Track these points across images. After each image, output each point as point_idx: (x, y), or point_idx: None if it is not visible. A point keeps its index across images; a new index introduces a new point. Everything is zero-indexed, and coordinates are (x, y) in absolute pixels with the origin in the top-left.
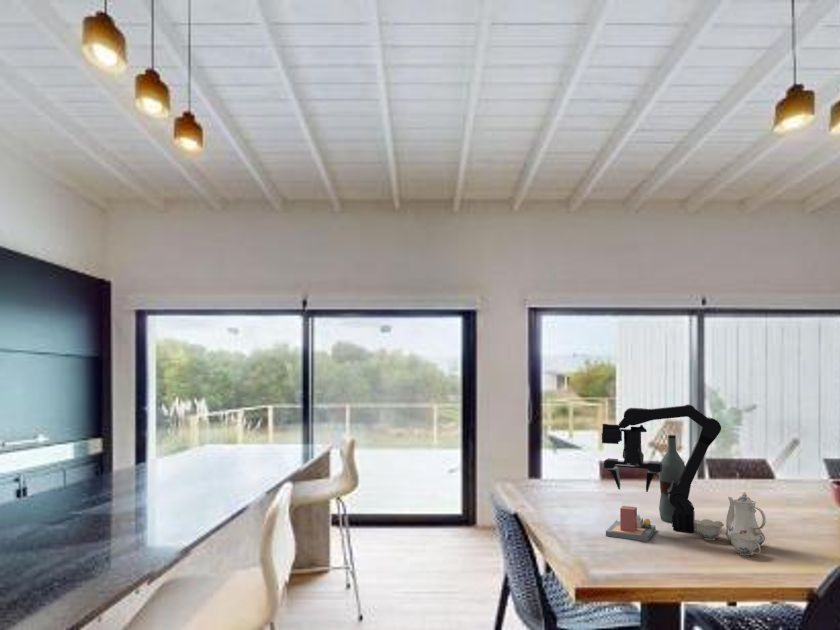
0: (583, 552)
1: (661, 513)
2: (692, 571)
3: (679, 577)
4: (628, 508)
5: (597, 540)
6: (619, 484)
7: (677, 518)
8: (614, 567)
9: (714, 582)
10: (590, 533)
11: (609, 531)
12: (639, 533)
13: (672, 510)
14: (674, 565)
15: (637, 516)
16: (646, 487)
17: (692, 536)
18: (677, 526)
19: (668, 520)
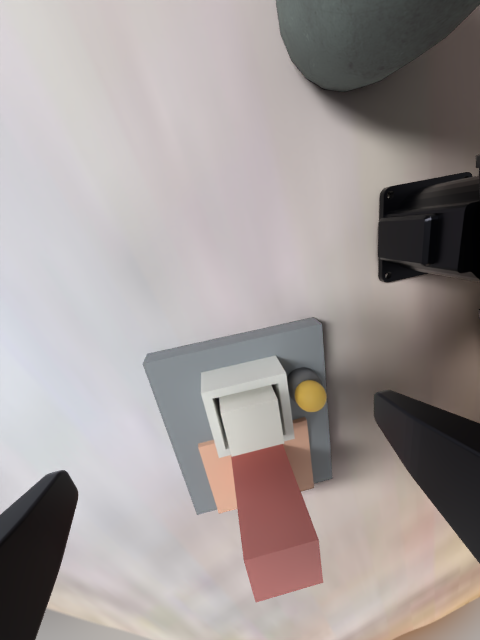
0: (226, 620)
1: (308, 44)
2: (442, 572)
3: (422, 604)
4: (291, 583)
5: (202, 544)
6: (44, 575)
7: (439, 271)
8: (315, 635)
9: (473, 588)
10: (141, 505)
11: (209, 510)
12: (307, 485)
13: (411, 54)
14: (411, 568)
15: (281, 436)
16: (422, 480)
17: (447, 317)
18: (406, 265)
19: (338, 88)
